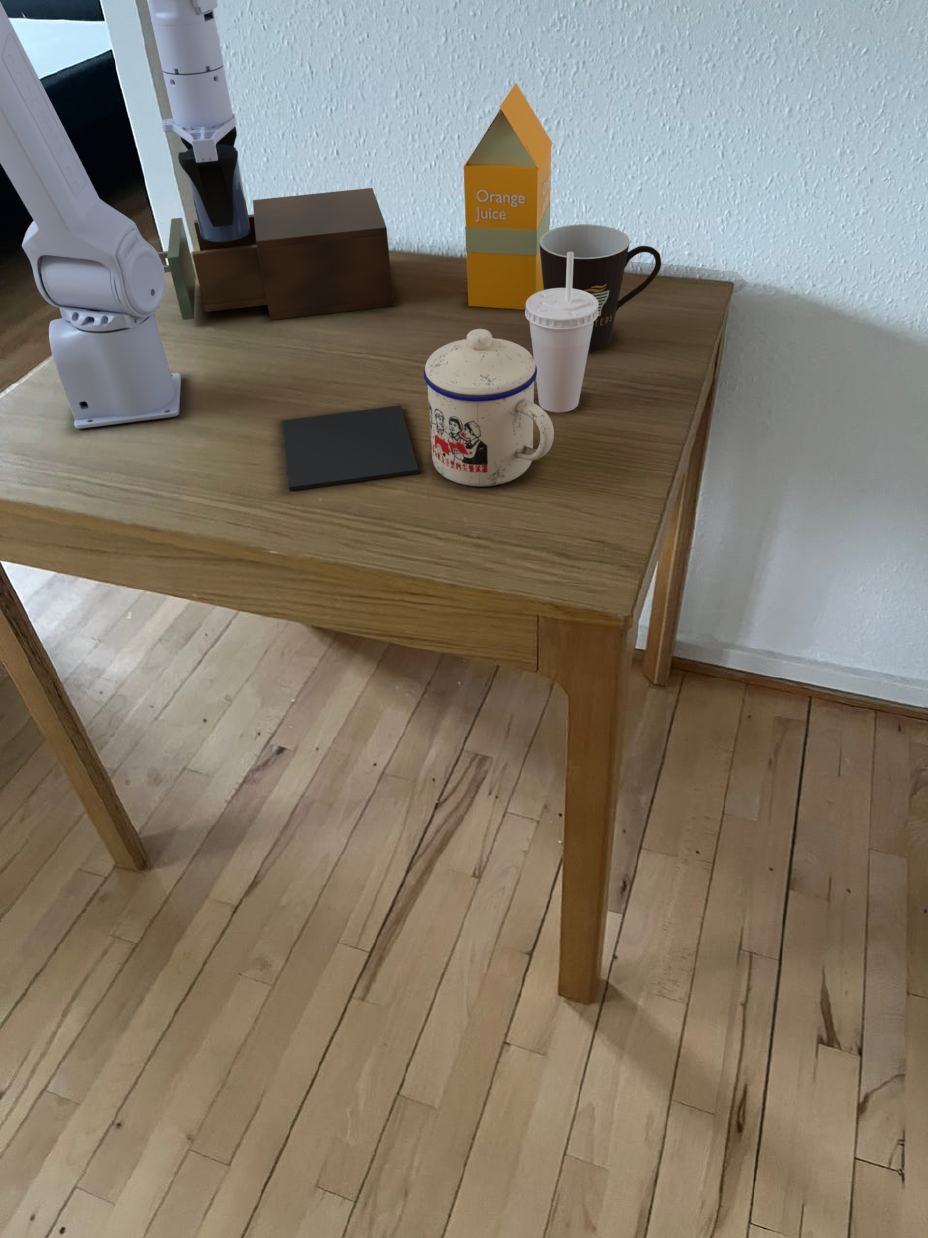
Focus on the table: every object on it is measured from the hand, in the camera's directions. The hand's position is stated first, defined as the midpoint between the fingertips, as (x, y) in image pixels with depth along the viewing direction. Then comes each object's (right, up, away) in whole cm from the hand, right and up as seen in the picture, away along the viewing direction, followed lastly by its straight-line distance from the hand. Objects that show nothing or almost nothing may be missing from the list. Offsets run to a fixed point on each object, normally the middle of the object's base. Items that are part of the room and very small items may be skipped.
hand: (222, 214), depth 99 cm
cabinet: (+9, -4, +10) cm, 14 cm away
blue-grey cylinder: (0, -1, +1) cm, 2 cm away
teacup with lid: (+28, -29, -18) cm, 44 cm away
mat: (+15, -27, -15) cm, 34 cm away
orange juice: (+30, -5, +8) cm, 32 cm away
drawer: (-2, -5, +8) cm, 10 cm away
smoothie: (+34, -22, -10) cm, 42 cm away
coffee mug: (+38, -14, -1) cm, 41 cm away
